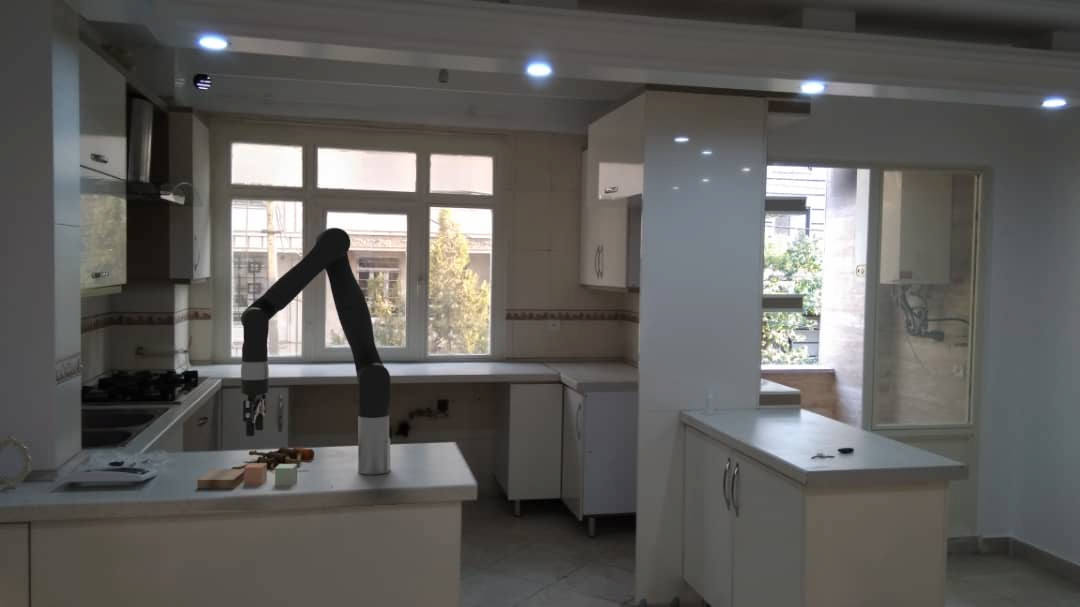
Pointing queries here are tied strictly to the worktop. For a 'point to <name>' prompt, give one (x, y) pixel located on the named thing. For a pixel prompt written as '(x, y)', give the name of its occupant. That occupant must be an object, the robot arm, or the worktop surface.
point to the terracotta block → (255, 473)
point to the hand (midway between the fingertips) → (254, 432)
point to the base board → (221, 478)
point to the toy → (281, 457)
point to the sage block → (286, 474)
